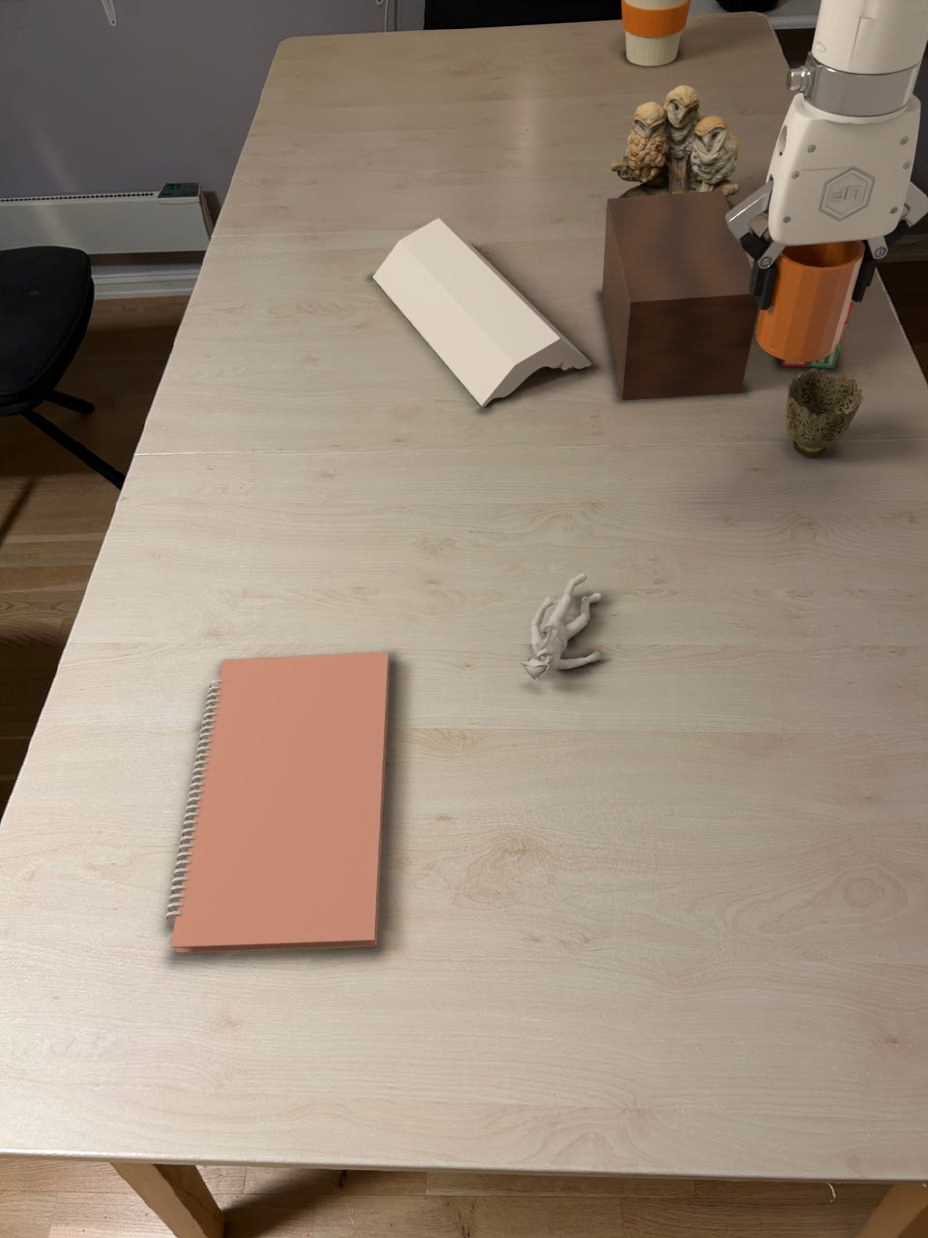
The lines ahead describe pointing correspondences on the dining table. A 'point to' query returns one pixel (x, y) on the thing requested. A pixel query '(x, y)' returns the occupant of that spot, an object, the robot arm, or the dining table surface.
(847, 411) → the cup
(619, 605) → the dining table surface
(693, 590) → the dining table surface
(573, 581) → the grey humanoid figurine
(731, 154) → the owl figurine
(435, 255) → the molding piece
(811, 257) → the cup
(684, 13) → the reusable coffee cup
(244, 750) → the notebook
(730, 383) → the dark brown wooden block
